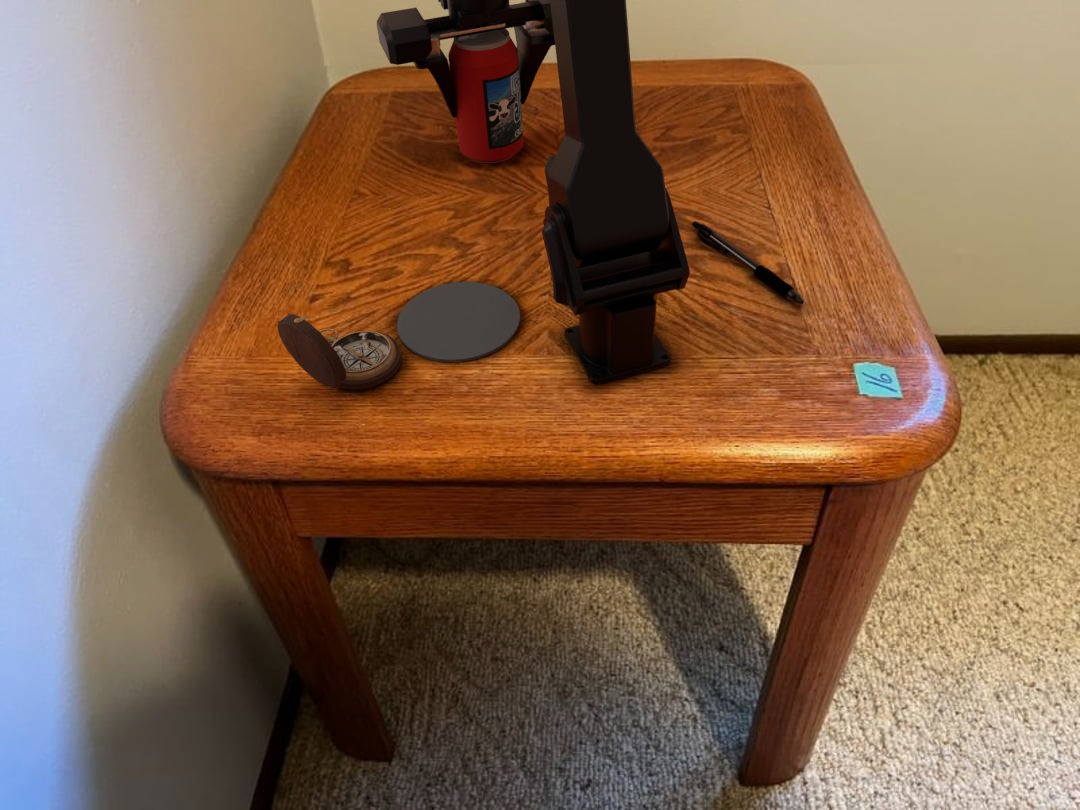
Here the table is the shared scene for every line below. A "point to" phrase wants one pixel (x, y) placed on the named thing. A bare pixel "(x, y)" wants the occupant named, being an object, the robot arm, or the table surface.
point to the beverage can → (487, 95)
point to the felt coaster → (458, 321)
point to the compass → (340, 354)
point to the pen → (746, 262)
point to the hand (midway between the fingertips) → (487, 109)
